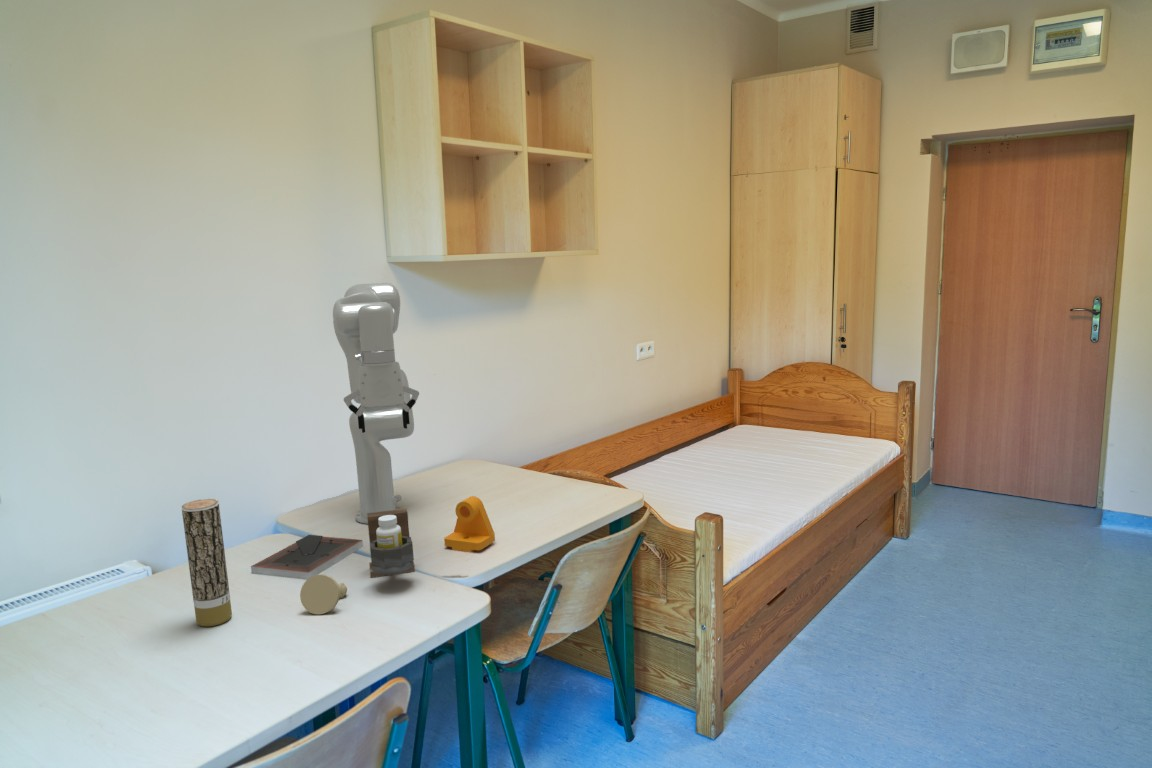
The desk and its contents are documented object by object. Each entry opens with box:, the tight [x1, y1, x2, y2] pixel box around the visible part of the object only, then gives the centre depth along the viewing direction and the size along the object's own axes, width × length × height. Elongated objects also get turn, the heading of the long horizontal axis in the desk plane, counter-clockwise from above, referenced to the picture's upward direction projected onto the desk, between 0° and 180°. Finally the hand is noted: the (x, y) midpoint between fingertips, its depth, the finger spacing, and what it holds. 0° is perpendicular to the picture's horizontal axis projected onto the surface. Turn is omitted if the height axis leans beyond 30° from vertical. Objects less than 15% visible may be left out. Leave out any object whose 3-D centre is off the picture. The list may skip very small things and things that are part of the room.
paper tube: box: [181, 498, 233, 627], centre depth 163 cm, size 7×7×25 cm
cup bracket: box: [367, 508, 416, 578], centre depth 182 cm, size 17×10×14 cm, turn 16°
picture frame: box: [250, 534, 364, 580], centre depth 197 cm, size 16×2×22 cm
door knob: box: [299, 573, 348, 615], centre depth 171 cm, size 10×8×8 cm
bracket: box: [443, 495, 496, 553], centre depth 201 cm, size 11×7×12 cm, turn 66°
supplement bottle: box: [376, 515, 402, 549], centre depth 177 cm, size 5×5×10 cm
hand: (384, 429), depth 189 cm, fingers open, 9 cm apart
